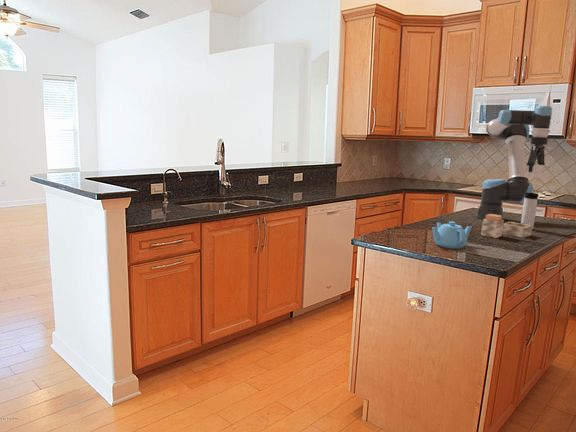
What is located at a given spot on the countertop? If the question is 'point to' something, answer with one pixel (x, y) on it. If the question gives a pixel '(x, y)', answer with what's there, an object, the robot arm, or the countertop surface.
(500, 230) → the dock
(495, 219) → the orange square panel
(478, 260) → the countertop surface
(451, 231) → the teapot
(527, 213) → the travel mug
